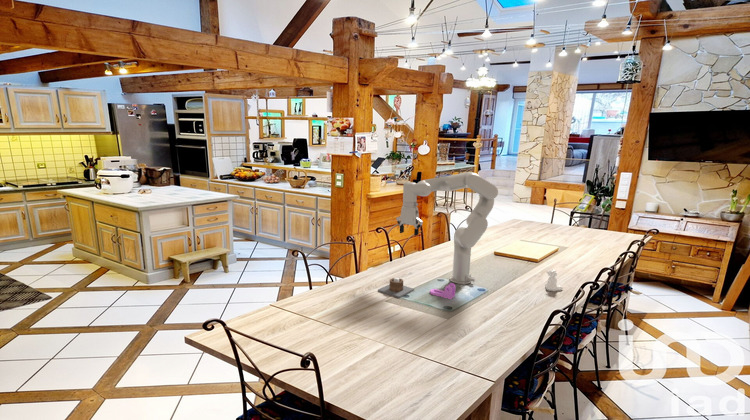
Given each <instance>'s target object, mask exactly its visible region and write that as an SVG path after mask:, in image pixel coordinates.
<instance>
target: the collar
mask: <svg viewBox="0 0 750 420" xmlns="http://www.w3.org/2000/svg"><path fill="white" fill-rule="evenodd" d="M394 278H395V277H392V278H389V284H390V286H389V288H390V290H391V291H394V292H400V291H402V290H403V286H404V279H402V278H399V277H398V278H399V282H394Z"/></svg>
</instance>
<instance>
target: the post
mask: <svg viewBox="0 0 750 420" xmlns="http://www.w3.org/2000/svg"><path fill="white" fill-rule="evenodd" d="M393 278H394V282H399V277H393ZM389 286H390V283H389V284H387V285H385V286H383V287H380V288H379V289H377V292H378V293H382V294H385V295H388V296H391V297H395V298H398V299H401V298H402V297H404V296H407V295H408V294H410V293H412V292H414V291H415V288H412V287H410V286H407V285H403V290H402V291H400V292H394V291H391V290H390V288H389Z"/></svg>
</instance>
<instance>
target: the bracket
mask: <svg viewBox="0 0 750 420" xmlns="http://www.w3.org/2000/svg"><path fill="white" fill-rule="evenodd" d="M456 286H457V285H456V283H453V282H450V283H449V284H448V285H446V286H445V287H444V290H442V289H438V288H432V289H429V293H430V295H433V296H437V297H440V296H441V297H440V298H444V299H447V298H448V300H452V299H453V298H454V297H456V289H457V288H456Z"/></svg>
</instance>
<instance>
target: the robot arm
mask: <svg viewBox="0 0 750 420" xmlns="http://www.w3.org/2000/svg"><path fill="white" fill-rule="evenodd" d="M467 188H469V189H471V191H472V192H475V193H476V194H478V196H479V197H478V202H477V203H476V205H475V206H474V208H473V209H472V210H471V212H470V213H469V215H468V216H467V218H466V220H465V221H466V224H467V227H464V226H462V227H458V228H457V229H456V230H455V232H454V235H453V246H454V247H453V261H452V263H453V265H452V275H451V276H450V277H449V281H450V283H454V284H458V285H467V284H468V285H469V284H470V283H472V282H473V283H475V282H476V277H475V276H472V273H470V271H471V270H470V269H471V256H472V254H471V253H472V248H473V247H474V246H475V245H476V244H477V242H478V241H479V240H480V239H481V237H482V236H483V235H484V233H485V232H486V230H487V228H488V224H489V222H488V220H487V218H488V216H489V215H490V213H491V211H492V210H493V207H494V205H495V198H497V196H498V195H499V190H498V187H497V186H496V185H495V184H493V183H491V182H490V181H488V180H486V179H485V178H483V177H482V176H480V174H477V173H475V172H472V171H466V172H465V171H464V172H462V173H461V172H460V173H457V174H452V175H446V176H440V177H433V178H428V179H423V180H420V181H418V182H417V183H416V182H414V181H413V182H412V181H411V182H410V181H407V182H404V183H403V189H402V191H403V192H402V206H401V210H400V216H397V217H396V221H397V224H398V226H399V233H400V234H403V233H405V225H410V226H413V227H414V229H413V236H414V237H416V236H419V233H420V232H419V231H420V228H421V227H422V225H423V223H424V221H423V220H422V219H420V215H419V208H418V207H417V206H419V203H418V201H417V200H418V198H417V197H418V196H420V197H428V196H429V195H430V194H431V193H432V192H437V191H442V192H453V191H456V190H462V189H467Z"/></svg>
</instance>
